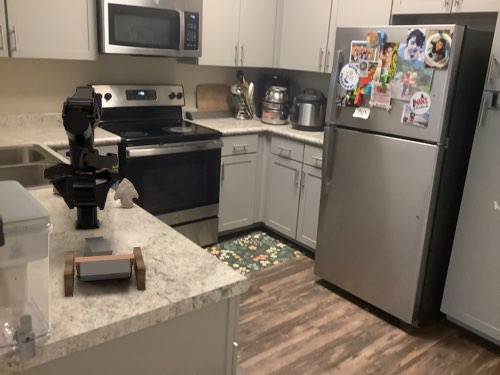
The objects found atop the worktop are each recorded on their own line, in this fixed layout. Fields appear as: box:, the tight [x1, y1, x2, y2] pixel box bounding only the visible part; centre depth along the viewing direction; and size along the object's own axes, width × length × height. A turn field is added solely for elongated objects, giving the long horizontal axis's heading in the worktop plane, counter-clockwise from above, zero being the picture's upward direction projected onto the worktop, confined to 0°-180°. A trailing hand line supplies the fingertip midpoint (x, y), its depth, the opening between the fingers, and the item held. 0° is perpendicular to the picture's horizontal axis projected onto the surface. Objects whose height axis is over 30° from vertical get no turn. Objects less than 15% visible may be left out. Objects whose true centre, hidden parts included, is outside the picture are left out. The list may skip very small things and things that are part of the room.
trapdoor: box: [74, 253, 134, 282], centre depth 102 cm, size 10×12×4 cm
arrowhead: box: [113, 177, 139, 209], centre depth 151 cm, size 8×3×10 cm, turn 113°
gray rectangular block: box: [83, 236, 113, 257], centre depth 111 cm, size 4×4×11 cm
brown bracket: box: [63, 246, 147, 298], centre depth 103 cm, size 12×16×5 cm
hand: (87, 209), depth 111 cm, fingers open, 9 cm apart
